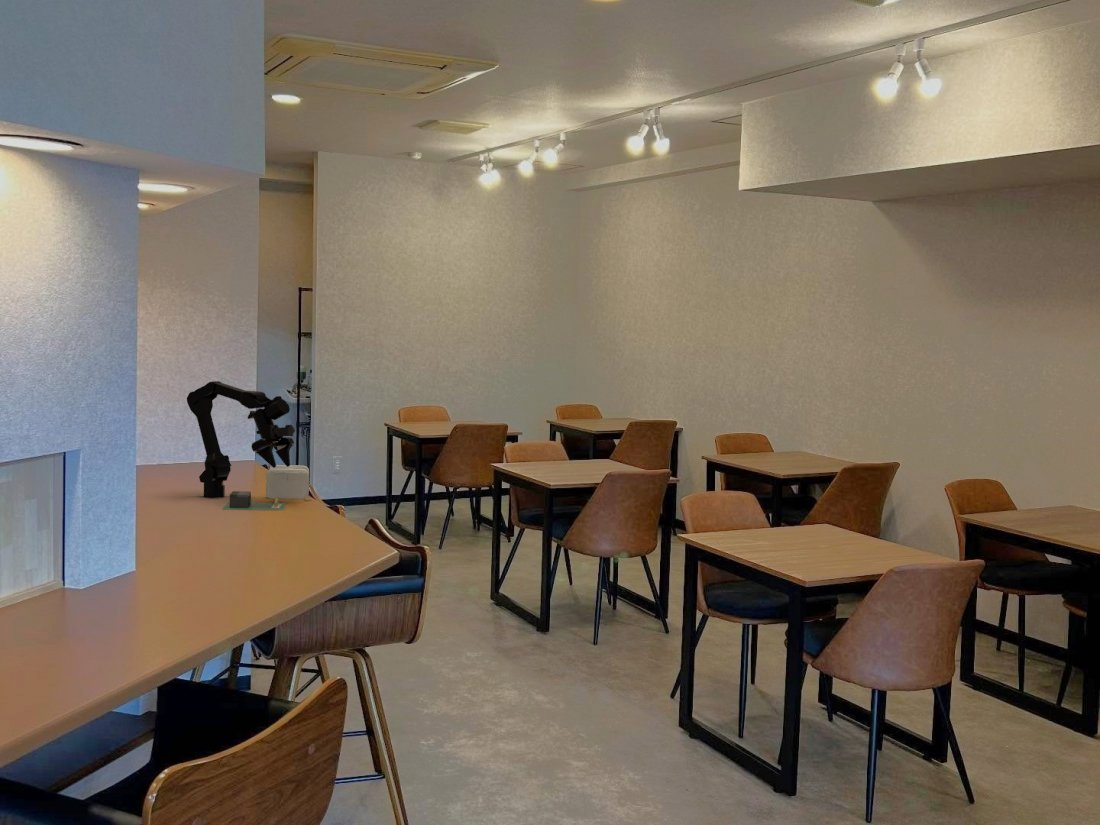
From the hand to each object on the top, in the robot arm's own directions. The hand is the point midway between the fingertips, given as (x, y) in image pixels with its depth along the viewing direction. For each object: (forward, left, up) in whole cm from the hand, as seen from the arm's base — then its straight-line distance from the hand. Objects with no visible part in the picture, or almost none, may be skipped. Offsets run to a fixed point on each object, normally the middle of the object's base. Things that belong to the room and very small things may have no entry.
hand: (281, 466), depth 353 cm
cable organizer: (+1, +18, -14) cm, 23 cm away
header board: (-8, -3, -14) cm, 17 cm away
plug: (-13, -3, -13) cm, 19 cm away
